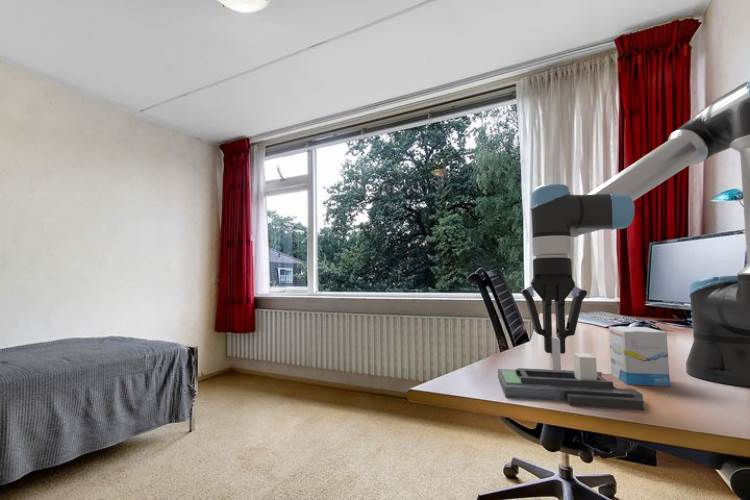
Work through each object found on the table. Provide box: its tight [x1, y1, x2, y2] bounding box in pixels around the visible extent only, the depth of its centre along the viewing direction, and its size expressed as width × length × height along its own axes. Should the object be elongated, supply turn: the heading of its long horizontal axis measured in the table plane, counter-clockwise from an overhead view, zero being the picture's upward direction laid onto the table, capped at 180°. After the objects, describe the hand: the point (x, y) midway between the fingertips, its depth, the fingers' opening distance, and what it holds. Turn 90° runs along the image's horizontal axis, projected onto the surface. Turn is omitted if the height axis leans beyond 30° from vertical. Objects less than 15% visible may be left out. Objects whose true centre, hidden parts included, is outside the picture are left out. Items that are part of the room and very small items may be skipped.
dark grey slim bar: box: [517, 367, 604, 374], centre depth 85 cm, size 18×2×2 cm, turn 77°
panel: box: [497, 368, 644, 402], centre depth 76 cm, size 24×14×3 cm, turn 77°
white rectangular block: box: [573, 352, 598, 380], centre depth 75 cm, size 3×4×5 cm
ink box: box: [608, 325, 671, 387], centre depth 83 cm, size 8×8×12 cm
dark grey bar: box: [567, 394, 645, 411], centre depth 66 cm, size 12×2×2 cm, turn 77°
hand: (555, 368), depth 76 cm, fingers closed
